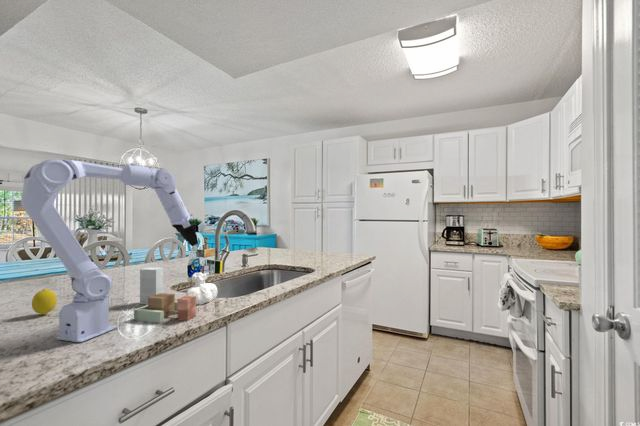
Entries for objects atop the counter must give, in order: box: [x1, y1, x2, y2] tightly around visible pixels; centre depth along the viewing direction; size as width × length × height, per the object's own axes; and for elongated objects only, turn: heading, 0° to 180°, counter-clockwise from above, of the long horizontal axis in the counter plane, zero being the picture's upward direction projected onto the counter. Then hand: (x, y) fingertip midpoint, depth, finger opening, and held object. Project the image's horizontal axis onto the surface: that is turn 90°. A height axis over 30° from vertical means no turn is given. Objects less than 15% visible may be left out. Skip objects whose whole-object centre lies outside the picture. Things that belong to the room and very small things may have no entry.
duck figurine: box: [185, 271, 218, 306], centre depth 101 cm, size 12×8×11 cm
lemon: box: [31, 288, 58, 316], centre depth 88 cm, size 6×6×8 cm
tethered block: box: [147, 292, 197, 322], centre depth 86 cm, size 5×13×6 cm, turn 75°
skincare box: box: [139, 267, 164, 305], centre depth 100 cm, size 6×4×12 cm
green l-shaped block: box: [133, 300, 177, 324], centre depth 87 cm, size 10×9×3 cm
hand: (192, 242), depth 96 cm, fingers open, 7 cm apart
